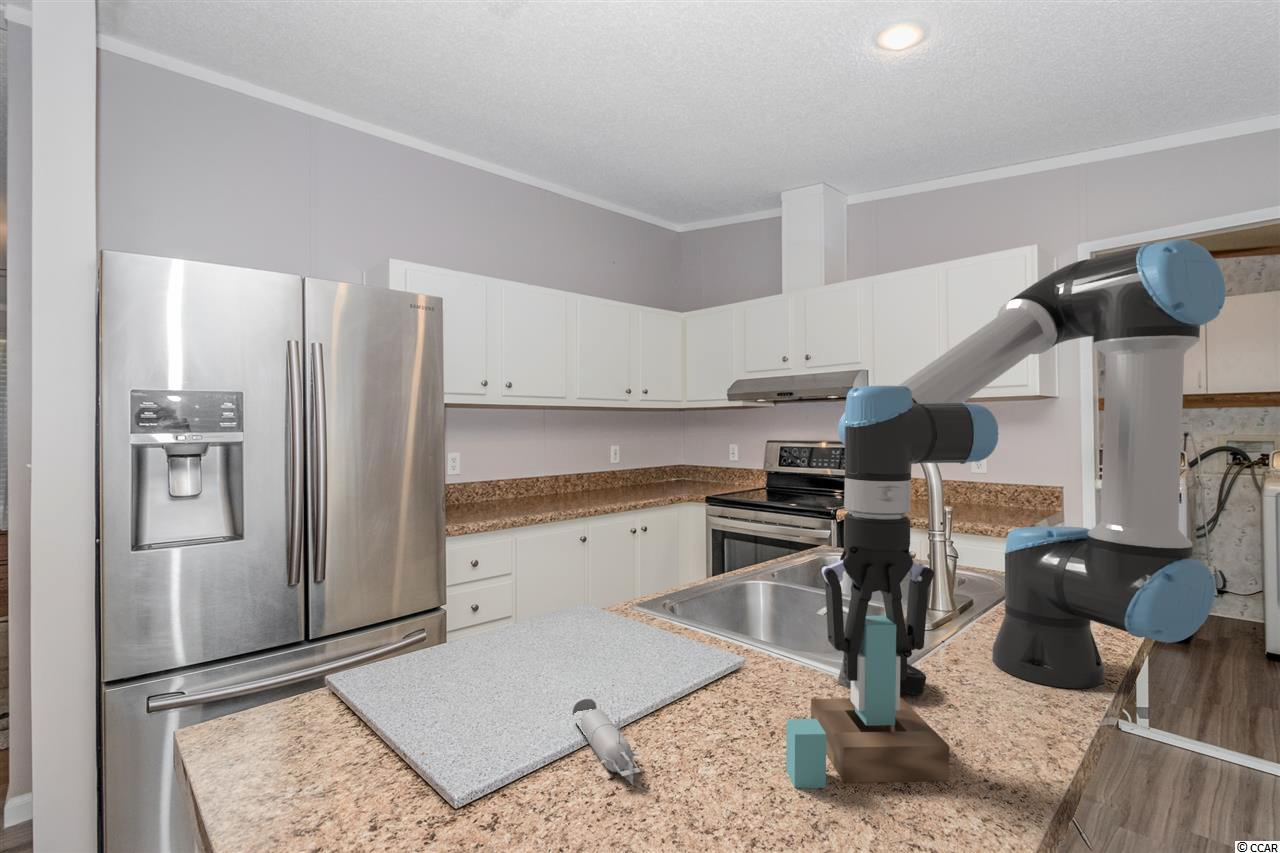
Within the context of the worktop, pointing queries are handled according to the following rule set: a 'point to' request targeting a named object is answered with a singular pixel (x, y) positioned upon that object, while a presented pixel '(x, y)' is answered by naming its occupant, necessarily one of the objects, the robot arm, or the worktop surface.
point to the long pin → (879, 671)
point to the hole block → (881, 745)
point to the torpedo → (606, 739)
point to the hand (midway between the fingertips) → (874, 705)
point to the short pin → (806, 753)
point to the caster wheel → (910, 685)
